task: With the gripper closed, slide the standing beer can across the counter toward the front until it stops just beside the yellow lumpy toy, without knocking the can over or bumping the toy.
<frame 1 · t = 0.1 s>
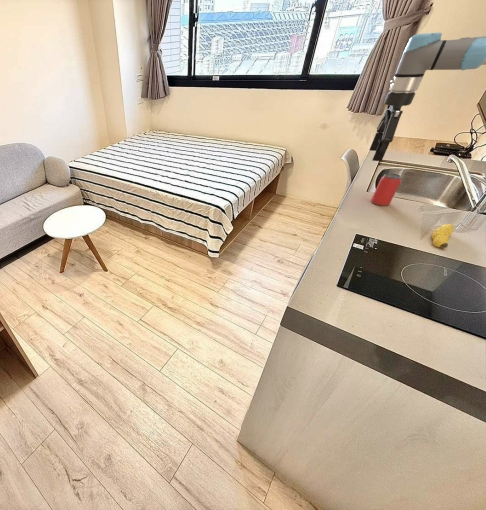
hand: (374, 155, 106), 21 cm above the table, tool pointing down, fingers open, 13 cm apart
beer can: (379, 203, 118), on the table
yellow lumpy toy: (436, 237, 95), on the table, tilted 11°
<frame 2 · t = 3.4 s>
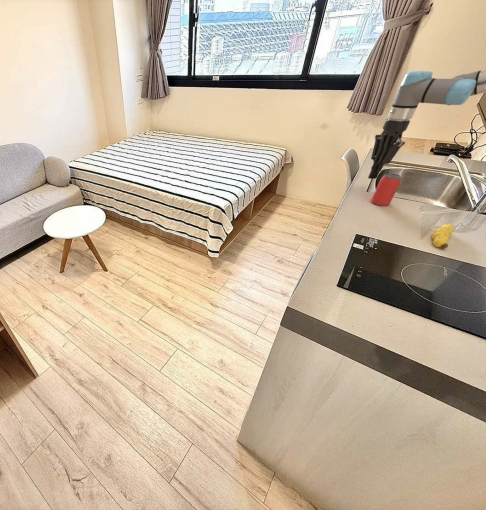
hand: (372, 178, 121), 8 cm above the table, tool pointing down, fingers closed
nothing on the table moved.
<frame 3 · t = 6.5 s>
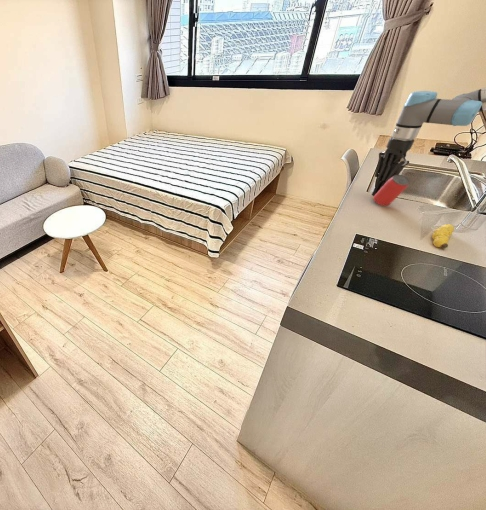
hand: (375, 195, 119), 2 cm above the table, tool pointing down, fingers closed
beer can: (380, 200, 117), point 1 cm above the table, touching gripper
everything else where it was.
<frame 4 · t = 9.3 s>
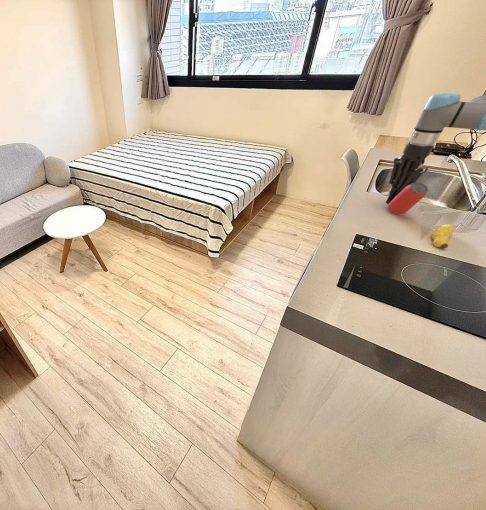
hand: (390, 203, 113), 2 cm above the table, tool pointing down, fingers closed
beer can: (395, 209, 110), point 1 cm above the table, touching gripper
everything else where it was.
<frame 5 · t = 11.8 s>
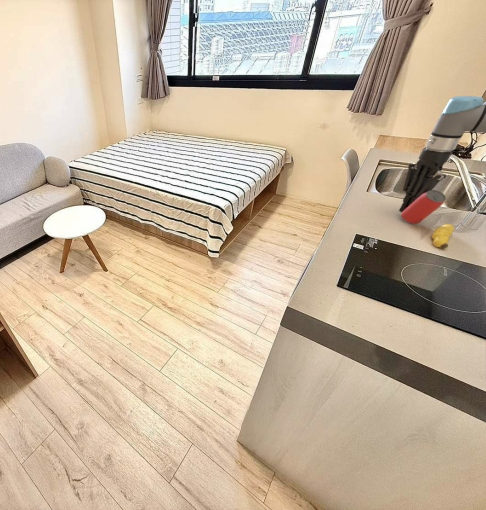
hand: (403, 211, 107), 2 cm above the table, tool pointing down, fingers closed
beer can: (409, 217, 105), point 1 cm above the table, touching gripper
everything else where it was.
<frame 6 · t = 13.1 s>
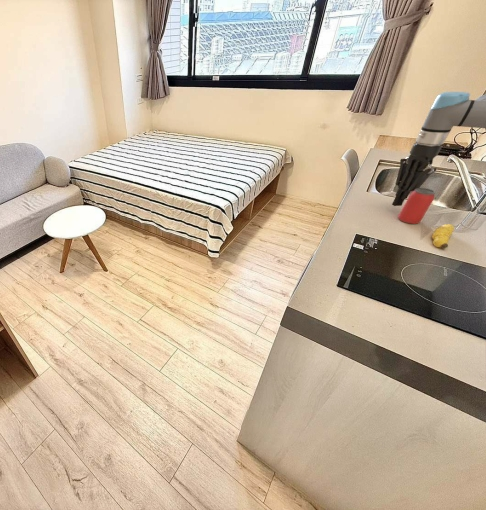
hand: (396, 204, 110), 3 cm above the table, tool pointing down, fingers closed
beer can: (408, 220, 105), on the table
everything else where it was.
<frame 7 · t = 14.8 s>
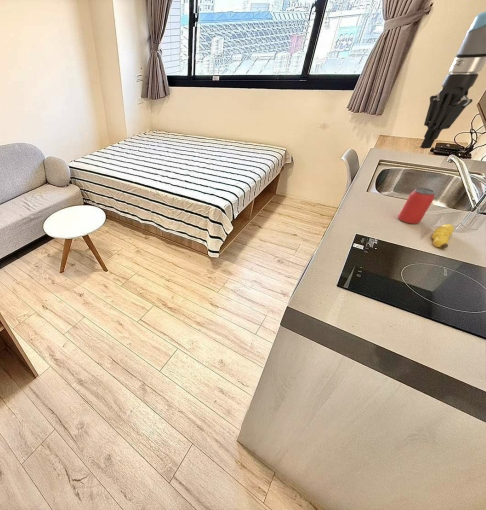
hand: (425, 147, 104), 23 cm above the table, tool pointing down, fingers closed
nothing on the table moved.
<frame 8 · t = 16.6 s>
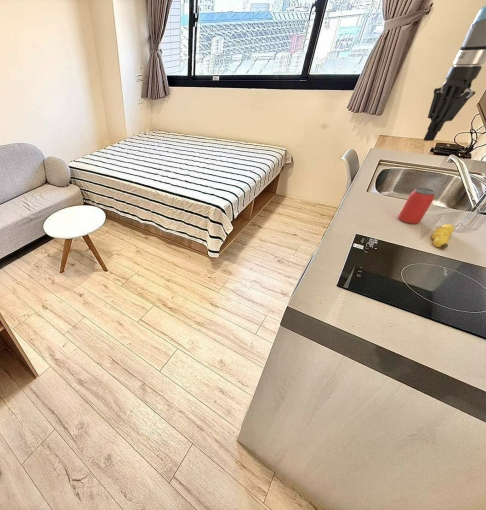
hand: (428, 140, 105), 24 cm above the table, tool pointing down, fingers closed
nothing on the table moved.
at the end: beer can inside the target area on the table beside the yellow lumpy toy (1.7 cm from its centre), on the table; beer can tilted 0°; yellow lumpy toy moved 0.1 cm from its start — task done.
